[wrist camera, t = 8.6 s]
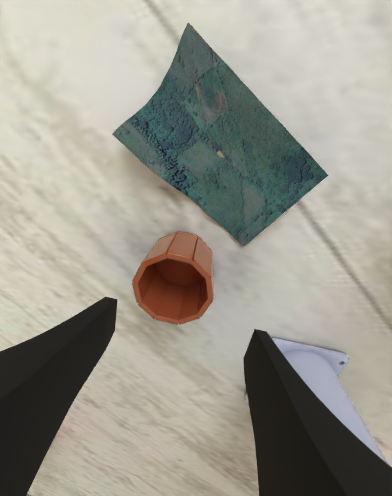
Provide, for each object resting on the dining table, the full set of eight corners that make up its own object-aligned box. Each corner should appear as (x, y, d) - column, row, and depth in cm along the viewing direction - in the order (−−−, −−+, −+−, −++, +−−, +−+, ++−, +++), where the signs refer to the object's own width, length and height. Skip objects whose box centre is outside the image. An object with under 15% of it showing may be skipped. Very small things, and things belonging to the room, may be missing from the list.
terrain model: (319, 174, 16) (331, 177, 14) (241, 245, 19) (243, 254, 17) (188, 31, 14) (183, 13, 12) (121, 136, 16) (110, 133, 15)
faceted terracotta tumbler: (206, 291, 21) (204, 330, 16) (148, 278, 20) (128, 314, 16) (220, 238, 19) (223, 264, 14) (156, 224, 19) (136, 245, 14)
